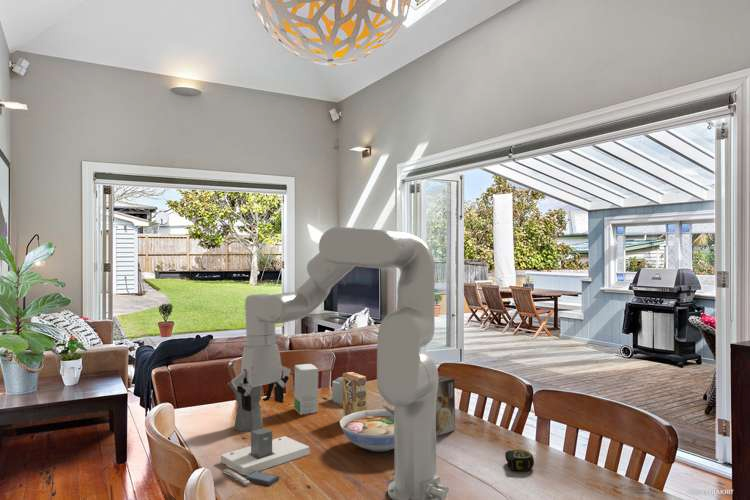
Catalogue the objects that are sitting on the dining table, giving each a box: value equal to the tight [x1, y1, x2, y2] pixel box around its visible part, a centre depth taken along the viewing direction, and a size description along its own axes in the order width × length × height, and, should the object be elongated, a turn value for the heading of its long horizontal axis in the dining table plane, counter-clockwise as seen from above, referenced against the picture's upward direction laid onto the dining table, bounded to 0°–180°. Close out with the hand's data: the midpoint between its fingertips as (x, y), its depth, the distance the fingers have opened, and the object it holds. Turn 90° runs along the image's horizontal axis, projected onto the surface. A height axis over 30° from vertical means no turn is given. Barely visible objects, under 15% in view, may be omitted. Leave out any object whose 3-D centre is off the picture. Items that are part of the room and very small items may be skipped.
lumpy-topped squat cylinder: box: [331, 376, 368, 405], centre depth 194 cm, size 10×13×9 cm
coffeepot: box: [227, 380, 275, 432], centre depth 166 cm, size 15×9×18 cm, turn 121°
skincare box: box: [293, 363, 319, 416], centre depth 182 cm, size 8×7×16 cm
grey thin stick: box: [223, 468, 251, 487], centre depth 127 cm, size 11×1×1 cm, turn 44°
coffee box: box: [436, 375, 456, 437], centre depth 160 cm, size 9×6×16 cm
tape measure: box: [504, 449, 535, 472], centre depth 132 cm, size 7×7×4 cm
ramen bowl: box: [339, 405, 394, 453], centre depth 147 cm, size 25×23×8 cm
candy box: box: [342, 371, 368, 417], centre depth 170 cm, size 9×4×15 cm, turn 33°
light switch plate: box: [220, 435, 311, 476], centre depth 140 cm, size 12×20×2 cm, turn 134°
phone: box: [244, 471, 280, 487], centre depth 126 cm, size 8×4×1 cm, turn 64°
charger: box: [250, 427, 273, 459], centre depth 138 cm, size 4×4×8 cm
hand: (263, 406), depth 137 cm, fingers open, 9 cm apart
